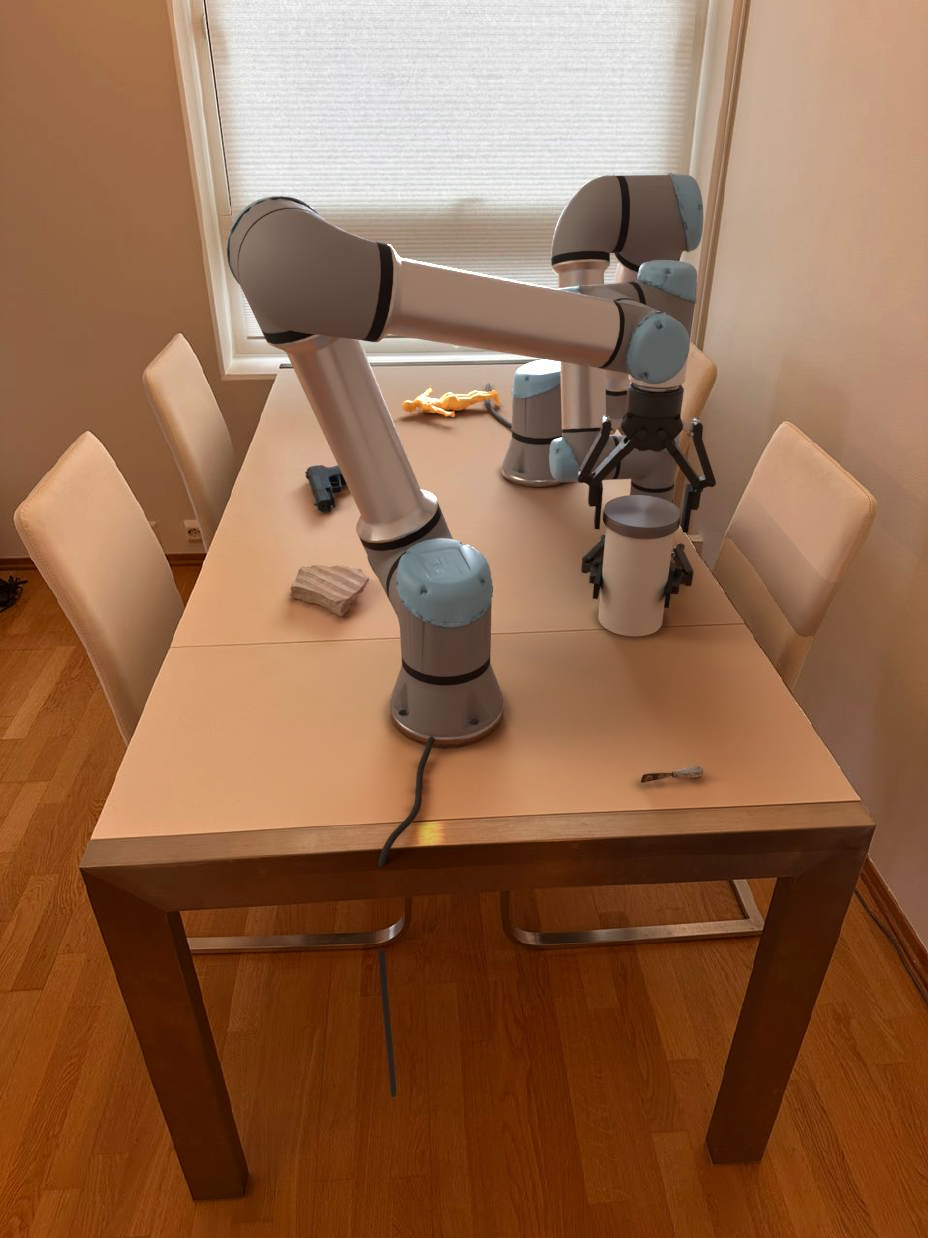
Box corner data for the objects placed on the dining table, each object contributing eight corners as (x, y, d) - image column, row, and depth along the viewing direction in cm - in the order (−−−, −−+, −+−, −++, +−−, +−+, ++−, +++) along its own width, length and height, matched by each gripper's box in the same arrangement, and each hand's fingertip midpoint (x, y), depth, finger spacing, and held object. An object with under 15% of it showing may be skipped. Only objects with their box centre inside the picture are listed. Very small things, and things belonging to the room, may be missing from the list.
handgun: (375, 507, 177) (315, 514, 174) (360, 472, 191) (304, 479, 188) (374, 492, 175) (313, 499, 172) (359, 458, 189) (302, 465, 187)
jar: (671, 614, 142) (686, 510, 133) (647, 643, 135) (660, 535, 125) (614, 597, 147) (624, 495, 137) (587, 624, 140) (596, 519, 130)
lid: (588, 514, 134) (588, 503, 133) (649, 500, 138) (650, 489, 137) (631, 544, 125) (632, 533, 125) (695, 528, 130) (697, 517, 129)
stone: (378, 583, 151) (377, 570, 149) (343, 618, 141) (342, 604, 140) (312, 570, 155) (310, 557, 154) (274, 603, 146) (272, 589, 144)
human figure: (395, 413, 223) (394, 398, 221) (438, 390, 237) (438, 375, 235) (462, 429, 215) (462, 413, 213) (502, 404, 229) (503, 388, 227)
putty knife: (703, 777, 109) (705, 767, 109) (642, 788, 108) (644, 777, 107) (700, 772, 110) (702, 762, 109) (639, 782, 109) (640, 771, 108)
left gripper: (566, 390, 119) (557, 535, 130) (752, 394, 117) (727, 541, 128) (565, 373, 125) (558, 513, 136) (743, 377, 123) (720, 519, 134)
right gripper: (709, 558, 152) (704, 627, 133) (577, 543, 156) (555, 607, 138) (716, 518, 148) (712, 583, 129) (580, 504, 153) (558, 564, 134)
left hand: (640, 527), depth 132 cm, fingers open, 12 cm apart
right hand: (631, 595), depth 134 cm, fingers closed on jar, 10 cm apart
